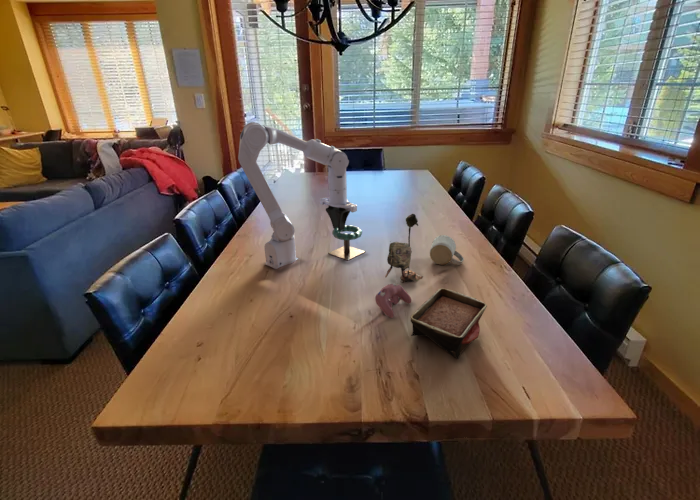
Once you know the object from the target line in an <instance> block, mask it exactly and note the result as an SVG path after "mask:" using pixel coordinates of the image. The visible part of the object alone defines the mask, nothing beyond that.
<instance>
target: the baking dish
mask: <svg viewBox="0 0 700 500" xmlns="http://www.w3.org/2000/svg"><path fill="white" fill-rule="evenodd" d="M487 308H488V304H487V303H485V302H484V301H482V300H480V299H477V298H475V297H472V296H469V295H467V294H465V293H462V292H458V291H455V290H452V289H449V288H444V287H440V288H439V289H436V291H435V292H434V293H433V294H432V295H431V296H430V297H429V298H428V299H427V300H426V301H424V303H423V304H422V305H421V306H419V307H418V308H417V309H416V310H415V311H414V312H413V313H412V314H411V315H410V323H411V324H412V334H411V335H410V337H411V336H412V337H427V338H428V339H430V340H431V341H432V342H434V344H436V345H437V346H439V347H440V348H442V350H443V351H445V352H447V353H448V354H450V355H451V356H453V358H455V359H457V360H459V359H460V356H461V355H462V353H463V351H464V350H466V348H467V347H468V346H469V345H470V344H471V343H472V342H474V341H475V340H477V339H478V338H479V335H480V331H481V328H480V326H481V325H480V323H479V322H480V320H481V318H482V316H483V314H484V312H485V311H486V309H487Z"/></svg>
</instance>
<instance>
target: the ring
mask: <svg viewBox="0 0 700 500" xmlns="http://www.w3.org/2000/svg"><path fill="white" fill-rule="evenodd" d="M345 232H351V233H345ZM331 234H332V237H334V238H335V239H337V240H341V241H344V240H350V241H353V240H357V239H360V238H361V237H362V235H363V230H362V229H361V228H360V227H358V226H356V225H350V224H349V225H347V224H345V227H344V229H343V230H339V229H338V227H336V228H333V230H332V231H331Z"/></svg>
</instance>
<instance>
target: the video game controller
mask: <svg viewBox="0 0 700 500" xmlns="http://www.w3.org/2000/svg"><path fill="white" fill-rule="evenodd" d="M399 299H400V300H402V301H403V302H404V303H406V304H407V305H410V304H411V303H412V301H413V300H412V297H411V295H410V294H409V293H408V292H407V291H406V290H405V289H404V287H403V286H402V285H400V284H399V283H395V282H393V283H390V284H386V285H385V286H383V287H382V288H381V289H380V290H379V292H378V293H376V294H375V299H374V301H375V304H376V306H378V307H379V308H380V310H381V312H383V314H384V315H386V316H387V317H388V318H390V319H392V318H394V317H395V312H394V310H393V305H398V304H399V303H400V300H399Z"/></svg>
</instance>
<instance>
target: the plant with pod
mask: <svg viewBox="0 0 700 500" xmlns="http://www.w3.org/2000/svg"><path fill="white" fill-rule="evenodd" d="M418 221H419V220H418V218H417V216H416V214H415V213H413V212H412V213H410V214H409V215H407V216H406V217H405V223H406V225H407V227H408V237H407V238H408V243H407V242H399V241H393V242H390V243H389V247H388V254H387V259H386V262H387V264H388V265H389V266H390V267H389V268H388V270H387V271H386V274H385V278H387V277H388V276H389V274H390V273H391V271H392V270H393V268H396V269H400V270H401V275H400V281H399V283H401V284H404V283H406V284H407V283H416V282H419V281H420V280H422V279H423V277H424V276H422V275H419V274H417V273H416V272H415V271H413V270H410V264H411V259H412V252H413V251H412V246H411V228H413V227H414V226H417V227H418V226H419V223H418Z"/></svg>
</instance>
